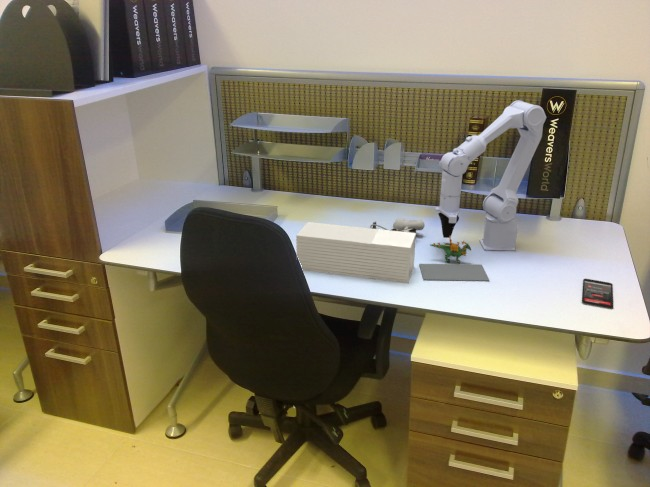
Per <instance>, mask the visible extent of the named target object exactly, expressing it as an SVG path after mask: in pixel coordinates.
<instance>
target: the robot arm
mask: <svg viewBox="0 0 650 487" xmlns="http://www.w3.org/2000/svg"><path fill="white" fill-rule="evenodd" d="M546 119H547V116H546V113H545V111H544V109H543V107H541V106H540V105H538V104H532V103H529V102H525V101H523V100H521V99H519V100H518V99H517V100H515V101H514V100H513V102H512V103H510V105H508V106H507V107H505V108H504V110H503V112H502V114H500V116H498V117H497V118H496V119H495V120H494V121H493V122H492V123H490V124H489V126H487V127H486V128H485V129H484V130H483V131H482V132H480V134H478V135H475V134H474V135H473V134H472V135H471V136H467V137H466V138H465V141H464V142H463V143H461V144H460V145H459V146H457V147H455V148H453V149H452V151H449V152H446V153H444V155H442V157H441V159H440V161H439V162H438V165H439V168H440V169H441V183H440V184H441V185H440V197H439V206H435V207H434V210H435V211H436V212H438V213H437V214H438V217H439V219H440V224H441V232H442V237H443V238H445V239H448V238H449V236H451V237H452V234H453V232H454V228H455V226H456V224H457V223H458V222H459V220H460V217H459V213H460V211H461V209H460V204H461V202H460V201H461V193H462V192H461V191H462V182H463V175H464V174H465V173H466V172H467V170H468V168H469V165H470V164H471V163H472V162H473V161H474V160H476V159H477V158H478V157H480V156H481V155H482V154H484V152H485V151H486V149H487V145H488V144H489V143H491V142H492V141H493V140H495V139H496V138H498V137H499V136H501V135H502V134H504V133H505V132H506V131H508V130H509V129H517V132H518V133H519V140H518V142H517V145H516V146H515V148H514V151H513V153H512V155H511V157H510V158H509V159H510V160H509V161H508V164H507V166H506V168H505V171H504V172H503V175H502V177H501V180H500V181H499V184H498V185H497V186H495V187H494V188H491V190H490V192H489V193H488V195H486V196H485V198H484V200H483V201H482V209H483V211H484V212H485V215H484V216H485V221H484V222H485V223H484V228H483V229H484V230H483V238H479V242H480V244H481V246H482V248H483V250H484V251H516V243H517V235H518V223H517V222H518V221H517V219H516V218H515V216H516V215H517V214H516V213H517V207H518V204H519V198H518V195H517V191H518V189H519V187H520V185H521V183H522V181H523V179H524V176H525V175H526V172H527V169H528V168H529V166H530V163H531V161H532V159H533V157H534V155H535V152H536V150H537V148H538V147H539V144H540V142H541V140H542V137H543V130H544V129H543V127H544V123H545V122H546Z"/></svg>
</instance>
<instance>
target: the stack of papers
mask: <svg viewBox="0 0 650 487" xmlns="http://www.w3.org/2000/svg"><path fill="white" fill-rule="evenodd" d="M416 233H417V232H416ZM416 233H411V232H401V231H391V229H388V230H385V229H382V228H380V229H379V228H376V229H372V228H369V227H361V226H351V225H339V224H331V223H330V224H329V223H322V222H312V221H307V222H306V223H305V224H304V226H303V227H302V228H301V229H300V231H298V232H297V234H296V236H295V237H296V239H295V241H296V242H295V243H296V257H297V256H298V258H299V261H300V263H301V265H302V269H303V270H302V271H309V272H318V273H327V274H332V275H333V274H334V275H339V276H347V277H348V276H349V277H350V276H351V277H357V278H358V277H359V278H363V279H364V278H366V279H372V280H373V279H374V280H382V281H389V282H395V283H396V282H398V283H406V284H409V282H410V279H411V277H412V274H413V270H414V267H415V254H416V253H415V252H416V242H417V240H416V239H417V235H416Z"/></svg>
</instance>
